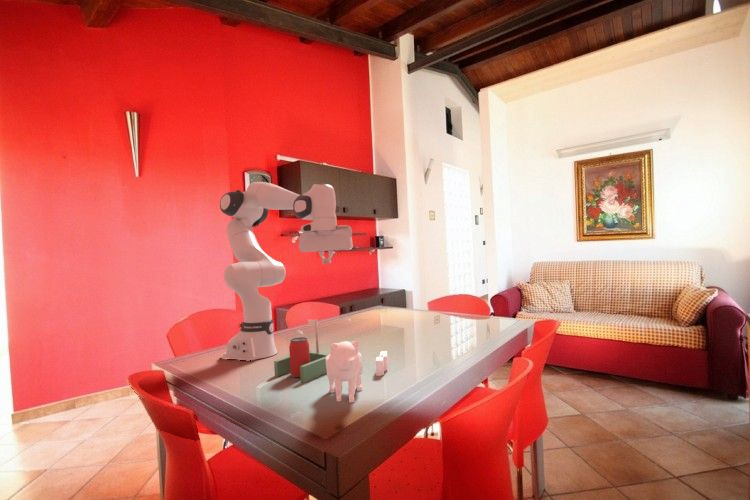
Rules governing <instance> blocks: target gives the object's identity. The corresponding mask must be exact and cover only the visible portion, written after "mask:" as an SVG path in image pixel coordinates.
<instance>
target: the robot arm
mask: <svg viewBox="0 0 750 500" xmlns="http://www.w3.org/2000/svg"><path fill="white" fill-rule="evenodd" d="M336 200H337V199H336V192H335V189H334V187H333V186H332V185H330V184H328V183H327V184H326V183H319V182H317V183H314V184H312V186H311V188H309V190H307V191H306V192H305V193H303V194H298V193H296V192H294V191H291V190H288V189H286V188H284V187H281V186H279V185H277V184H274V183H270V182H266V181H254V182H251V183H250V184H249V185H248V187H247V188H246V190H244V191H242V190H241V189H237V190H234V191H228V192H226V193H224V194H223V195H222V197H221V199H220V202H219V209H220V211H221V212H222V213H223V214H224V215H226V216H228V217H232V218H233V219H231V220H229V222H228V223H227V225H226V233H227V239H228V242H229V245H230V248H231V251H232V254H233V256H234V258H235V259H236V260H237V261H238V262H235V263H234V262H233V263H230V264H228V265H227V266H226V268H225V270H224V273H223V281H224V283H225V284H226V286H228V287H229V288H230V289H231V290H233V291H234V292H235V293H236V294H237V296H239V298H240V301H241V304H242V311H243V322H241V323H239V324H238V328H240V331H238V332H237V333H236V334H235V335H234V336H233V337H232V338H230V339H229V340H228V341H227V344H226V347H225V352H224V353H222V354H221V355H220V357H221V358H229V359H239V360H238V361H240V360H246V361H245V362H251V361H256V360H258V359H264V358H266V359H267V358H270V357H272V356H274V355H276V354H277V353H278V349H277V348H276V343H275V338H274V319H273V316H272V315H273V313H272V302H271V300H270V299H269V298H268V297H266V296H264V295H262V294H261V293H260V292H259V289H258V288H263V287H264V288H265V287H273V286H276V285H279V284H281V283H283V281H284V280H285V278H286V274H287V273H286V267H285V265H284V264H283V263H282V262H281V261H278V260H276V259H274V258H272V257H271V256H270V255H268V254H267V253H266V252H265V251H264V250H263V249H262V248H261V246H260V244H259V242H258V240H257V237H256V235H255V233H254V231H253V228H256V227H259V225H260V224H262V223H263V222H264V221H265V220H266V219H267V218H268V216H269V210H273V211H278V210H281V211H283V210H284V211H286V210H287V211H288V210H293V213H294V215H295V217H296V218H298V219H299V220H304V221H305V220H307V221H311V222H310V223H309V222H308V223H306V224H304V225H301V227H300V232H301V233H300V235H299V237H298V238H299V239H298V249H299V251H300V252H301V253H309V252H313V253H314V252H318V255H319V257H320V258H321V263H322V264H331V263H332V258H333V256H334V253H335V252H334V251H349V250H352V249H353V248H354V244H353V243H354V242H353V238H352V236H353V228H352V226H350V225H348V224H345V225H338V222H337V220H338V219H337V218H338V217H337V215H336V212H337V201H336ZM325 252H328V253H327V254H329V255H328V257H327V258H326V257H325V256H324V255H325ZM250 360H251V361H250Z"/></svg>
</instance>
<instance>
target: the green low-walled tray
mask: <svg viewBox="0 0 750 500" xmlns="http://www.w3.org/2000/svg"><path fill="white" fill-rule="evenodd" d="M318 323H319V322H318V319H308V320H307V324H308V326H307V327H308V328H315V347H316V348H315V349H316V351H312V350H311V351H310V350H309V353H310V363H307V364H305V365H302V366H300V377H299V378H300V383H307V382H309V381H311V380H313V379H316V378H319V377H320V376H321V377H322V376H323V375H325V374H327V369H326V361H325V358H326V356H328V355H329V354H330V353H329V354H328V353H322V352H319V351H320V350H319V349H320V348H319V345H320V344H319V329H318V328H319V327H318V325H319V324H318ZM273 362H274V363H273V364H274V368H273V370H274V376H275V377H281V376H283V375H286V374H288V373H290V355H288V356H285V357H282V358H280V359H276V360H273Z"/></svg>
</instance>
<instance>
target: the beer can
mask: <svg viewBox="0 0 750 500" xmlns="http://www.w3.org/2000/svg"><path fill="white" fill-rule="evenodd" d="M309 351H310V343H309V341H308V338H307V337H304V336H303V337H302V336H301V337H294V338H291V339H290V343H289V356H290V372H289V374H290V375H291V377H293V378H301V377H300V366H302V365H305V364H307V363H310V353H309Z"/></svg>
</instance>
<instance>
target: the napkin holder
mask: <svg viewBox="0 0 750 500" xmlns="http://www.w3.org/2000/svg"><path fill="white" fill-rule="evenodd" d="M388 366H389V363H388V350H382V351H380V353H379V356H375V372H376V376H377V377H379V376H380V377H382V376H381V375H384V376H385V372H386V371H385V370H387V369H388V368H389V367H388ZM387 371H388V370H387Z"/></svg>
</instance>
